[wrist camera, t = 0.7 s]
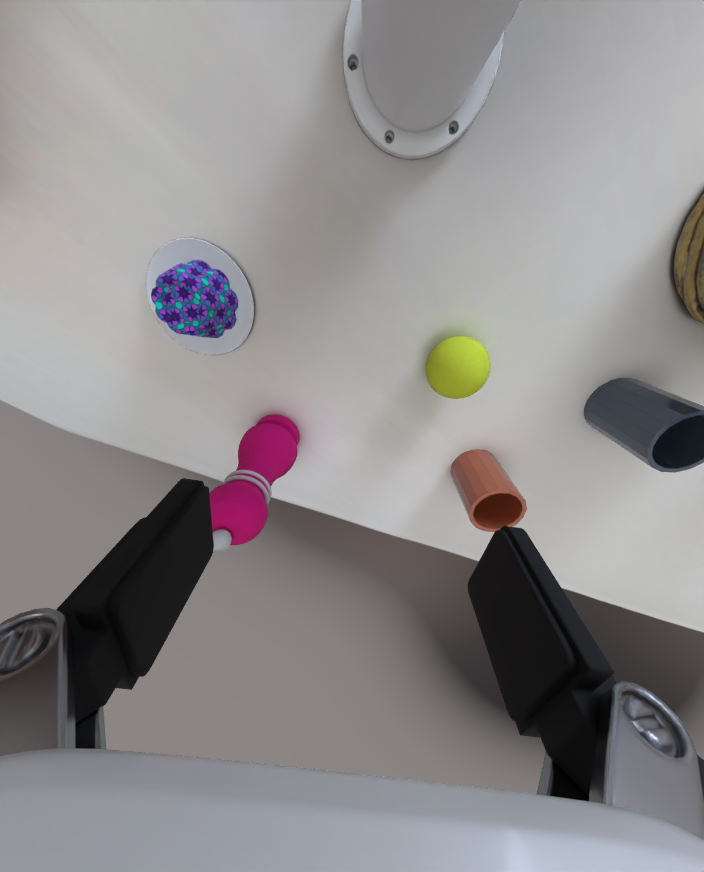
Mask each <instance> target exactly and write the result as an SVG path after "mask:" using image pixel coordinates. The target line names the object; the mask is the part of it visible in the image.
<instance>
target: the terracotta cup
mask: <svg viewBox="0 0 704 872" xmlns="http://www.w3.org/2000/svg"><path fill="white" fill-rule="evenodd" d="M451 476H452V478H453V481H454V484H455V486H456V489H457V491H458V493H459V496H460V498H461V500H462V503H463V505H464V507H465V510H466V512H467V514H468V517H469V519H470V521H471V523H472V524H473V525H474V526H475V527H476V528H478V529H481V530H483V531H490V532H495V531H496V530H500V529H501V527H503V526H508V527H512V526H514V525H516V524H517V523H518V522H519V521H520V520H521V519H522V518H523V517H524V515H525V512H526V510H527V507H526V501H525V499H524V498H523V496H522V495H521V493H520V492H519V491H518V489H517V488H516V486H515V485H514V484H513V482H512V481H511V479H510V478H509V476H508V475H507V474H506V472H505V471H504V469H503V468H502V467H501V465H500V464H499V462H498V461H497V460H496V459H495V457H494V456H493V455H492V454H491V453H489V452H487V451H483V450H472V451H468V452H466V453H463V454H462V455H460V456H459V457H458V458H457V459H456V460H455V461H454V463H453V465H452V467H451Z"/></svg>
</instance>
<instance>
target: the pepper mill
mask: <svg viewBox="0 0 704 872" xmlns="http://www.w3.org/2000/svg"><path fill="white" fill-rule="evenodd" d="M298 442H299V431H298V429H297V427H296V426H295V424H294V423H293V422H292V421H291V420H289V419H288V418H286V417H284V416H281V415H268V416H265V417H263V418H262V419H261V420H260V421H259V422H258V423H257V424H256V426H254V427H252V428H250V429H249V430H248V431H247V432H246V433H245V434H244V436H243V438H242V440H241V442H240V445H239V450H238V459H239V464H238V468H237V470H236V471H234V472H232V473H230V474H229V475H228V476H227V477H226V479H225V481H224V482H223V483H222V485H221V486H218V487H216V488H215V489H214V490H212V491H211V492H210V493H209V495H210V506H211V518H212V529H213V541H214V549H213V550H215V551H223V550H225V549H226V548H228V547H229V545H239V544H244V543H247V542H248V541H250V540H252V539H254V538H255V537H256V536H257V535H258V534H259V533H260V532H261V530H262V529H263V527H264V525H265V523H266V520H267V517H268V509H267V505H268V502H269V500H270V498H271V493H272V491H271V485H272V484H273V482H274V481H275V480H276V479H278V478H279V477H281V476H283V475H285V474H286V473H287V472H288V471H289V470H290V469H291V467H292V466H293V464H294V462H295V460H296V457H297V445H298Z"/></svg>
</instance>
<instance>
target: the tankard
mask: <svg viewBox="0 0 704 872" xmlns="http://www.w3.org/2000/svg"><path fill="white" fill-rule="evenodd" d="M674 280H675V284H676V288H677V292H678V293H679V295H680V297H681V298H682V300H683V301H684V303H685V305H686V307H687V309H688V311H689V313H690V314H691V316H692V317H693V318H694V319H696V320H698V321H700V322H702V323H704V193H703V195H702V196H701V198H700V199H699V201H698V202H697V204H696V205H695V207H694V209H693V210H692V212H691V213H690V215H689V216H688V219H687V221H686V223H685V226H684V228H683V230H682V233H681V236H680V238H679V241H678V244H677V247H676V253H675V259H674Z"/></svg>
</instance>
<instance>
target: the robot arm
mask: <svg viewBox="0 0 704 872" xmlns="http://www.w3.org/2000/svg"><path fill="white" fill-rule="evenodd" d="M521 1H522V0H350V3H349V8H348V13H347V17H346V22H345V28H344V40H343V64H344V76H345V84H346V89H347V93H348V97H349V101H350V105H351V107H352V109H353V112H354V114H355V117H356V119H357V121H358V123H359V124H360V126H361V128H362V129H363V131H364V132H365V134H366V135H367V136H368V137H369V138H370V140H371V141H372V142H373V143H374V144H375V145H376V146H378V147H379V148H380V149H382V150H383V151H385V152H386V153H388V154H391V155H393V156H396V157H398V158H404V159H420V158H426V157H429V156H432V155H434V154H437V153H439V152H441V151H442V150H444V149H445V148H447V147H448V146H450V145H452V144H453V143H454V142H455V141H456V140H457V139H458V138H459V137H460V136H461V135H462V134H463V133H464V132H465V131H466V129H467V128H468V127H469V126H470V124H471V123H472V122H473V120H474V119H475V118H476V116H477V114H478V113H479V111H480V110H481V108H482V107H483V105H484V103H485V101H486V98H487V96H488V94H489V92H490V90H491V88H492V85H493V82H494V79H495V76H496V73H497V70H498V67H499V62H500V57H501V51H502V46H503V35H504V30H505V29H506V27H507V25H508V23H509V22H510V20H511V18H512V17H513V15H514V13H515V11H516V10H517V8H518V6H519V4H520V3H521ZM352 65H355V66H356V69H355V70H354V71H353V70H351V69H350V68H351V66H352ZM450 128H452V129H453V130H454V133H453V134H450V133H449V129H450ZM388 137H390V138H391V140H392V141H391V143H387V142H386V139H387V138H388ZM213 549H214V541H213V529H212V518H211V506H210V495H209V488H208V487H206V486H204V483H203V482H202V481H198V480H191V479H184V478H183V479H181V480H180V481H179V482H178V483H177V484H176V485H175V486H174V487H173V488H172V490H171V491H170V492H169V493H168V494H167V495H166V496H165V498H163V500H162V501H161V502H160V503H159V504H158V505H157V506H156V507H155V509H153V511H152V512H151V513H150V514H149V515H148V516H147V517H146V518H143V519H140V520H139V521H138V522H137V523H136V524H135V525H134V526H133V527H132V528H131V529H130V530H129V532H127V534H126V535H125V536H124V537H123V538H122V539H121V540H120V541H119V542H118V543H117V544H116V546H115V547H114V548H113V549H112V550H111V551H110V552H109V553H108V554H107V555H106V556H105V557H104V559H103V560H102V561H101V562H100V563H99V564H98V565H97V566H96V567H95V568H94V569H93V570H92V572H91V573H90V574H89V575H88V576H87V577H86V578H85V579H84V580H83V581H82V582H81V584H80V585H79V586H78V587H77V588H76V589H75V590H74V591H73V592H72V593H71V594H70V595H69V597H68V598H67V599H66V600H65V601H64V602H63V603H62V604H61V605H60V606H59V607H58V608H57V610H54V609H50V608H43V609H34V610H31V611H27V612H24V613H20V614H18V615H16V616H14V617H12V618H10V619H7V620H5V621H4V622H2V623H1V624H0V872H704V760H702V759H701V758H700V757H699V756H698V755H697V753H696V749H695V746H694V743H693V741H692V739H691V737H690V735H689V733H688V732H687V730H686V728H685V727H684V725H683V724H682V723H681V721H680V720H679V719H678V718H677V716H676V715H675V714H674V713H673V712H672V711H671V710H670V709H669V708H668V707H667V706H666V705H665V704H664V703H663V702H662V701H661V700H660V699H658V698H657V697H656V696H655V695H653V694H652V693H651V692H649V691H647V690H646V689H644V688H642V687H641V686H639V685H636V684H633V683H630V682H619V683H616V681H615V680H614V678H613V676H612V675H613V674H614V671H613V669H612V668H611V666H610V665H609V663H608V661H607V660H606V658H605V657H604V655H603V654H602V652H601V650H600V649H599V647H598V646H597V644H596V643H595V641H594V639H593V638H592V636H591V634H590V633H589V631H588V630H587V628H586V626H585V625H584V623H583V622H582V620H581V619H580V617H579V615H578V614H577V612H576V611H575V609H574V608H573V606H572V604H571V603H570V601H569V600H568V598H567V597H566V595H565V594H564V592H563V590H562V588H561V587H560V585H559V584H558V582H557V580H556V579H555V577H554V576H553V574H552V573H551V571H550V569H549V568H548V566H547V565H546V563H545V561H544V560H543V558H542V557H541V555H540V553H539V552H538V550H537V549H536V547H535V546H534V544H533V542H532V541H531V539H530V538H529V536H528V534H527V533H526V532H525V530H523V529H522V528H515V527H508V526H503V527H501V529H500V530H496V531H495V533H494V535H493V537H492V538H491V540H490V542H489V544H488V546H487V548H486V550H485V551H484V553H483V555H482V557H481V559H480V561H479V563H478V565H477V567H476V568H475V570H474V572H473V574H472V576H471V578H470V580H469V582H468V592H469V595H470V598H471V602H472V605H473V608H474V611H475V614H476V617H477V620H478V623H479V626H480V629H481V632H482V635H483V638H484V641H485V644H486V647H487V650H488V654H489V656H490V659H491V663H492V666H493V669H494V672H495V674H496V678H497V681H498V684H499V687H500V690H501V693H502V696H503V699H504V702H505V705H506V708H507V711H508V713H509V715H510V717H511V718H512V719H513V720H514V721H515V722H516V725H517V727H518V730H519V733H520V735H524V736H531V737H541V739H542V742H543V744H544V746H545V750H546V752H545V757H544V762H543V767H542V771H541V776H540V781H539V786H538V790H537V794H531V793H523V792H514V791H505V790H497V789H488V788H479V787H470V786H461V785H453V784H444V783H435V782H426V781H417V780H408V779H399V778H390V777H381V776H371V775H362V774H353V773H343V772H334V771H325V770H316V769H307V768H298V767H288V766H278V765H268V764H259V763H249V762H239V761H230V760H220V759H211V758H200V757H191V756H181V755H169V754H157V753H145V752H133V751H120V750H108V749H106V740H105V724H104V710H103V706H104V705H105V704H106V703H107V701H108V699H109V698H110V696H111V694H112V693H113V691H114V690H115V688H121V689H130V690H132V688H133V686H134V685H135V683H136V681H137V679H138V678H139V676H145V675H146V674H147V672H148V671H149V670H150V668H151V666H152V664H153V663H154V661H155V659H156V657H157V655H158V653H159V652H160V650H161V648H162V646H163V644H164V642H165V641H166V639H167V637H168V635H169V633H170V631H171V629H172V628H173V626H174V624H175V622H176V620H177V619H178V617H179V615H180V613H181V611H182V609H183V608H184V606H185V604H186V602H187V600H188V598H189V596H190V595H191V593H192V591H193V589H194V587H195V585H196V584H197V582H198V580H199V578H200V576H201V574H202V573H203V571H204V569H205V567H206V565H207V563H208V562H209V560H210V558H211V556H212V553H213Z"/></svg>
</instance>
